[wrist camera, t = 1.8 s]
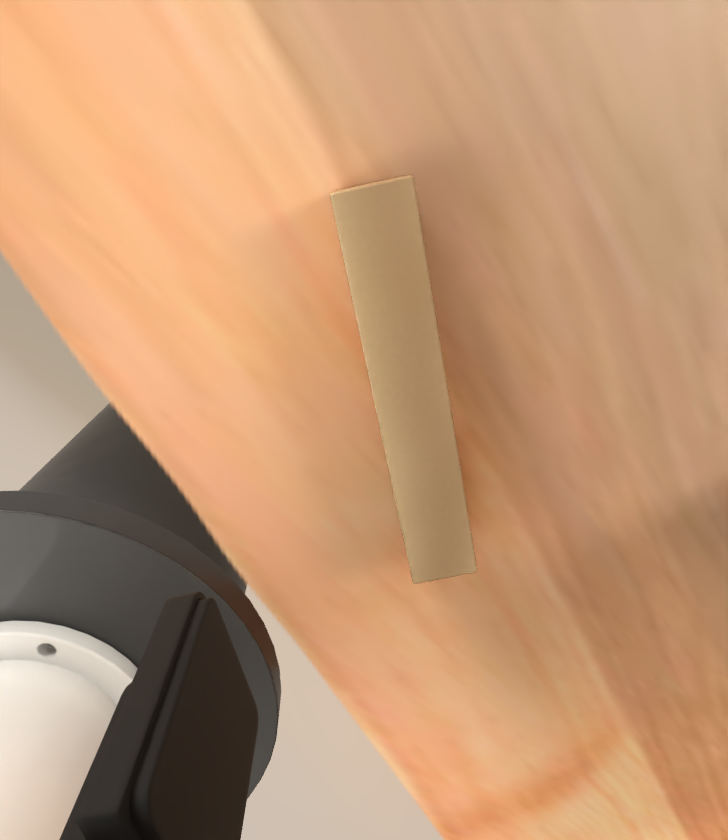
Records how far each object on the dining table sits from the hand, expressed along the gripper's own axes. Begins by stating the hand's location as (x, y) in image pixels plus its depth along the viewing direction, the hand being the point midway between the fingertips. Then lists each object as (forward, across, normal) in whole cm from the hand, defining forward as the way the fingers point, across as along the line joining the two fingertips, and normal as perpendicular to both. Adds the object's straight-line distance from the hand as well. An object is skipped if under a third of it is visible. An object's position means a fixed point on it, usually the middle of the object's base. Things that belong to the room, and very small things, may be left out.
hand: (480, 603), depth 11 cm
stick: (+16, 0, +1) cm, 16 cm away
